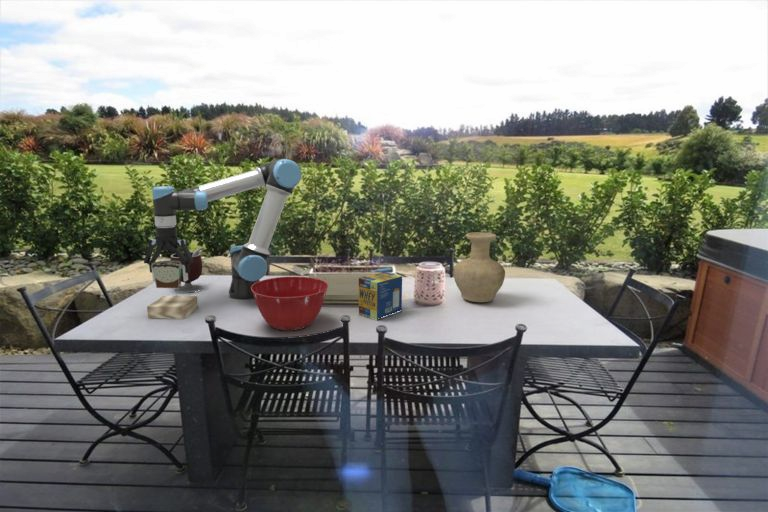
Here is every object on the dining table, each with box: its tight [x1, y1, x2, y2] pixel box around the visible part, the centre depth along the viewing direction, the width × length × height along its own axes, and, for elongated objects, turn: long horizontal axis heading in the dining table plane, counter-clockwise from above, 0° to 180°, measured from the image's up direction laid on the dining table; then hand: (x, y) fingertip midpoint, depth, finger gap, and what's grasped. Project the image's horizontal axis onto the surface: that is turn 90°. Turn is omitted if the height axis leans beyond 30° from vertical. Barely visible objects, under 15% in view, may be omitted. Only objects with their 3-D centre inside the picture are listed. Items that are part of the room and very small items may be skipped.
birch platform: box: [146, 295, 199, 320], centre depth 183 cm, size 14×14×5 cm
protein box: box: [358, 271, 403, 320], centre depth 184 cm, size 10×15×16 cm
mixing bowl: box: [251, 276, 329, 331], centre depth 171 cm, size 28×28×16 cm
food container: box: [151, 260, 183, 289], centre depth 180 cm, size 12×6×10 cm, turn 85°
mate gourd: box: [169, 246, 204, 294], centre depth 215 cm, size 16×14×20 cm
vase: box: [453, 231, 506, 303], centre depth 201 cm, size 22×22×30 cm
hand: (170, 280), depth 181 cm, fingers closed on food container, 11 cm apart
